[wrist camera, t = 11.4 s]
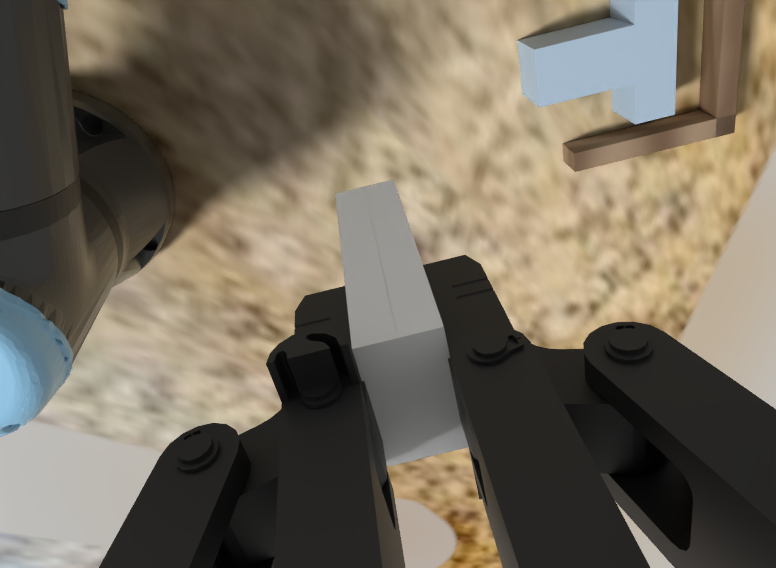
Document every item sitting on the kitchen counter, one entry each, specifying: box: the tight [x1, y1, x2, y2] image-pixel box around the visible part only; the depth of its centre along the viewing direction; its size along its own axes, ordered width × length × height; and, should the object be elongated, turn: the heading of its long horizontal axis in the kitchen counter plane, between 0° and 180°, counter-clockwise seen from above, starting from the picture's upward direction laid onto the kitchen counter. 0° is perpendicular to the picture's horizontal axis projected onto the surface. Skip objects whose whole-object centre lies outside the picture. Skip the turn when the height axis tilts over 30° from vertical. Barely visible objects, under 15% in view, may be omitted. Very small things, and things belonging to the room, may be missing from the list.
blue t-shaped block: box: [517, 0, 678, 124], centre depth 45 cm, size 10×10×4 cm
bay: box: [563, 0, 745, 172], centre depth 45 cm, size 13×16×2 cm
